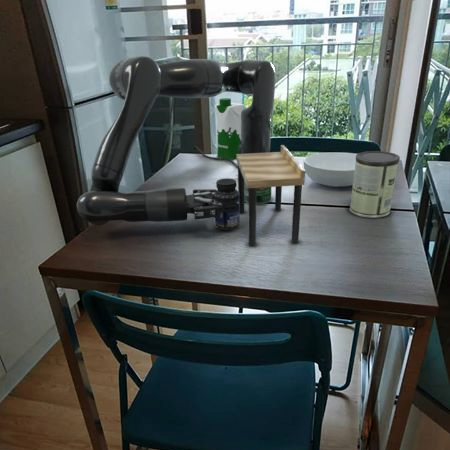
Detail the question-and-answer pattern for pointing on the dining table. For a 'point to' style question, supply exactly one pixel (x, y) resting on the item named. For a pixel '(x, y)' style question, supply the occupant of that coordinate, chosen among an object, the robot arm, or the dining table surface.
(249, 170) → the shelf riser
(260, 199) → the canned tomato
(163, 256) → the dining table surface
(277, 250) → the dining table surface
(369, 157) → the coffee can
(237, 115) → the milk carton
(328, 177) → the serving bowl
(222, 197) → the pill bottle
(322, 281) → the dining table surface
